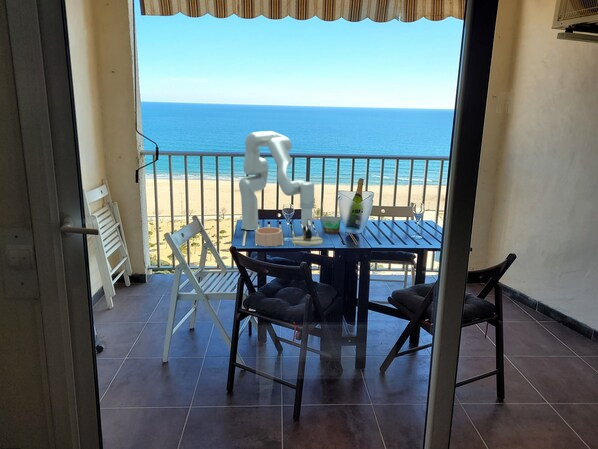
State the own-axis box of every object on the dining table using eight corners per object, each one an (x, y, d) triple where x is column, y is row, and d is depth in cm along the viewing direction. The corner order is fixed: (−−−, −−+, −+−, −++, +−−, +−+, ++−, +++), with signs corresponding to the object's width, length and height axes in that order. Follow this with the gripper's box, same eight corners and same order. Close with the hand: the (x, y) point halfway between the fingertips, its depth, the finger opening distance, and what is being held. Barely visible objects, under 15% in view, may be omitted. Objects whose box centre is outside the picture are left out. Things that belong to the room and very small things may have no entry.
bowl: (255, 239, 243) (254, 227, 242) (280, 238, 245) (280, 226, 243) (256, 247, 230) (255, 234, 228) (283, 246, 232) (282, 233, 230)
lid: (290, 238, 247) (289, 227, 246) (319, 237, 250) (319, 226, 248) (293, 247, 231) (293, 236, 230) (325, 245, 233) (325, 234, 232)
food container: (319, 234, 254) (319, 217, 251) (320, 231, 259) (320, 214, 257) (341, 234, 252) (341, 217, 249) (341, 232, 258) (342, 215, 255)
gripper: (298, 202, 243) (298, 231, 247) (302, 208, 226) (302, 240, 231) (311, 201, 244) (311, 231, 248) (316, 208, 227) (316, 240, 232)
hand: (307, 235), depth 239 cm, fingers open, 9 cm apart
